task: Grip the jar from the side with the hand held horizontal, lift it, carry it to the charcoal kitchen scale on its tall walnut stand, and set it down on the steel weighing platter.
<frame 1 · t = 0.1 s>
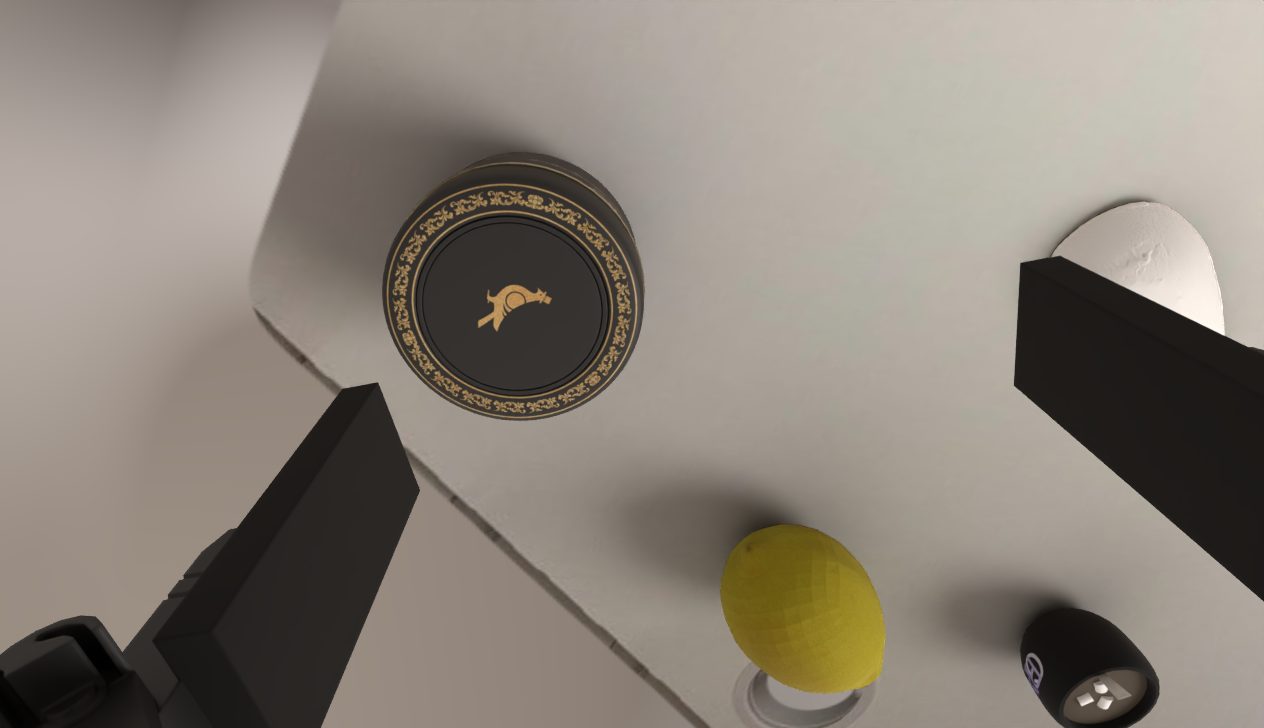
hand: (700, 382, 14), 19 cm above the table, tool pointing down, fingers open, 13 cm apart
jar: (532, 252, 33), on the table
mug: (1059, 654, 46), on the table
computer mouse: (1134, 311, 35), on the table
lemon: (784, 557, 41), on the table
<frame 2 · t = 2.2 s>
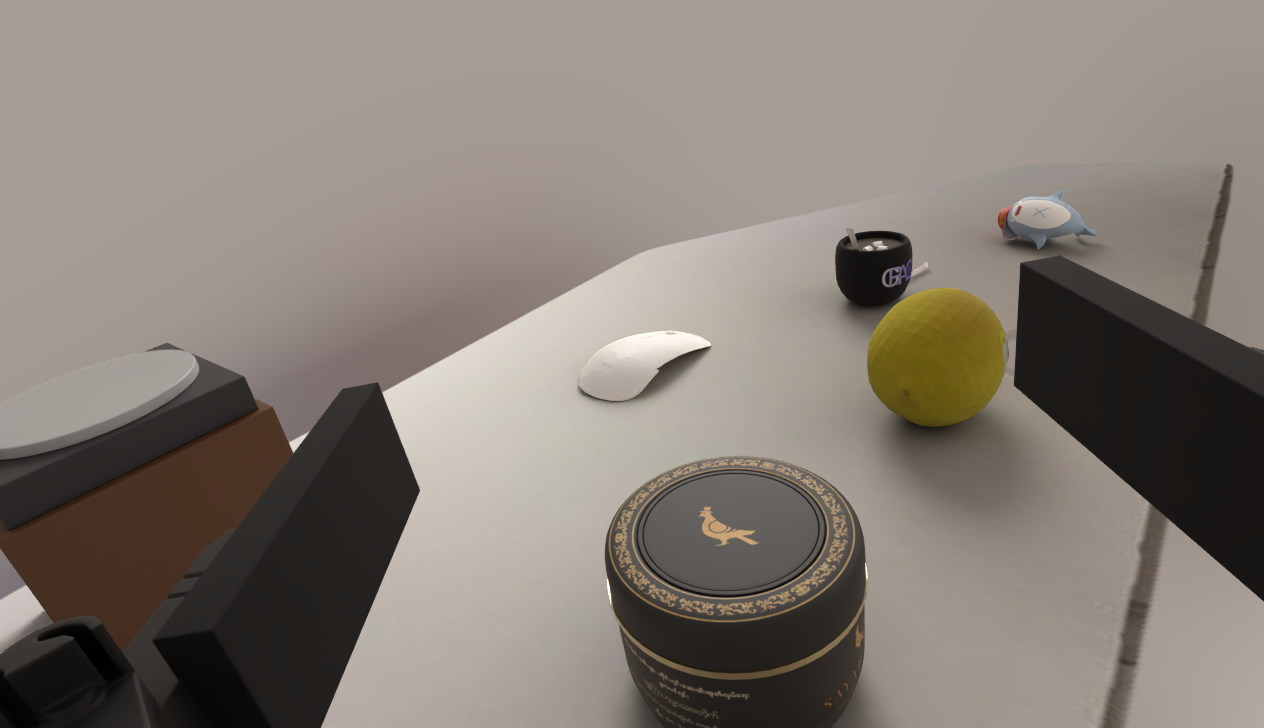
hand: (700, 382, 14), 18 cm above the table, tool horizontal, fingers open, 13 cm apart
scale: (111, 436, 36), on the table
jar: (744, 667, 30), on the table
mug: (890, 291, 63), on the table
computer mouse: (644, 365, 57), on the table
figurine: (1042, 242, 68), on the table
lemon: (935, 412, 45), on the table
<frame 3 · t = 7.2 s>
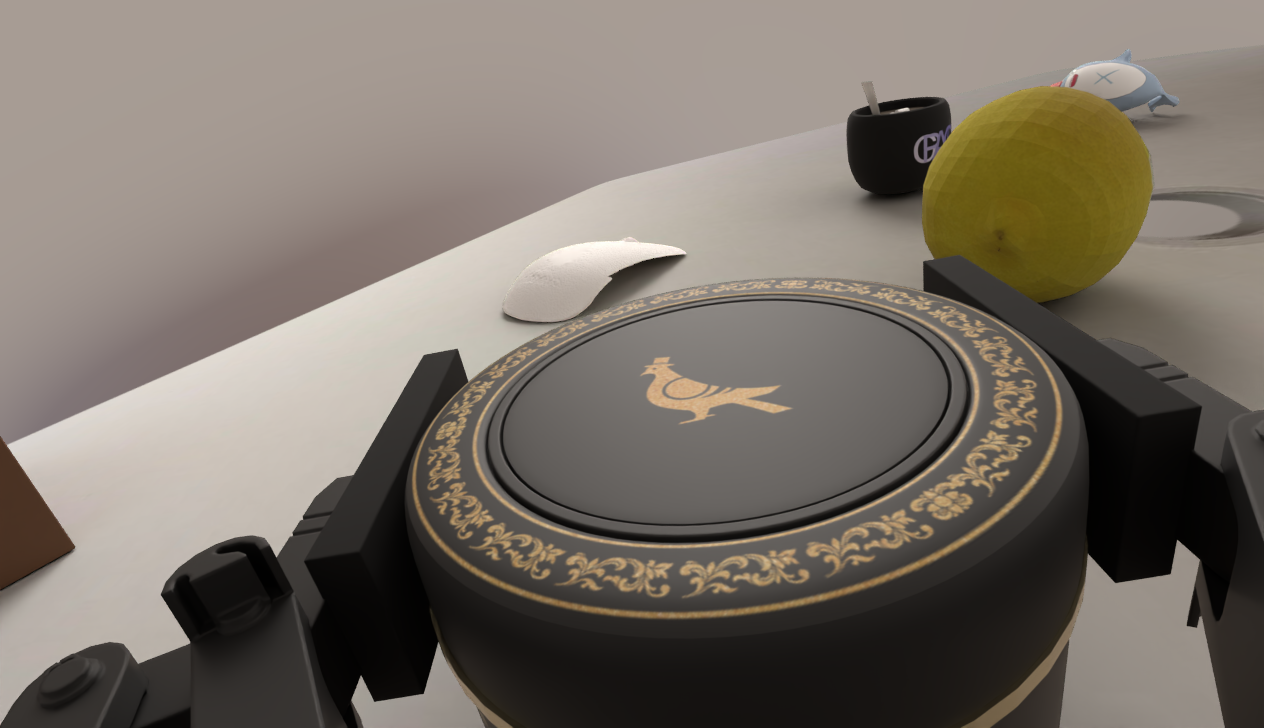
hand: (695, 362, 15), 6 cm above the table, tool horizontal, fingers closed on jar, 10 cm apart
jar: (765, 724, 14), on the table, touching gripper
mug: (919, 182, 48), on the table
computer mouse: (595, 283, 41), on the table
figurine: (1105, 123, 53), on the table
lemon: (1026, 292, 29), on the table
when the fingers open (19 cm above the table, at t = 16.0 s): jar stays where it is, resting on scale.
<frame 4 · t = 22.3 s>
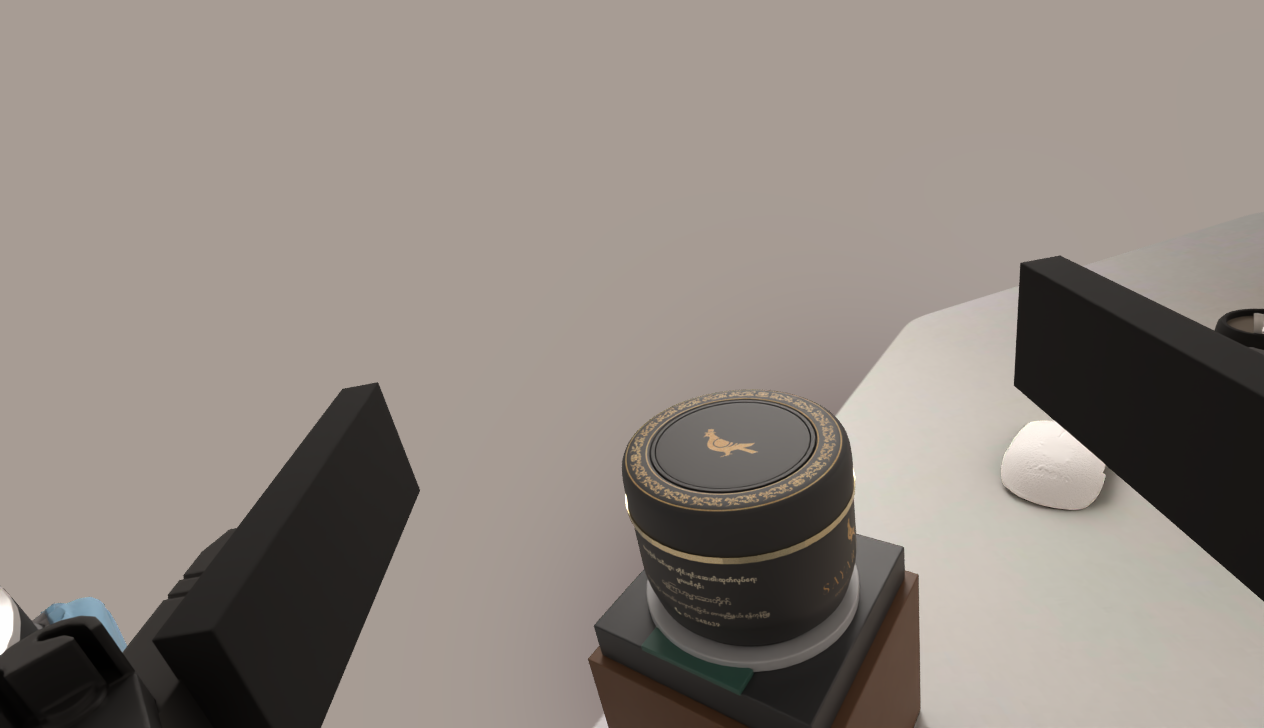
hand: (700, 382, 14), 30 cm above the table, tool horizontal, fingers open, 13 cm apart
scale: (755, 615, 34), on the table
jar: (751, 579, 33), point 12 cm above the table, touching scale
mug: (1259, 367, 62), on the table
computer mouse: (1056, 463, 56), on the table
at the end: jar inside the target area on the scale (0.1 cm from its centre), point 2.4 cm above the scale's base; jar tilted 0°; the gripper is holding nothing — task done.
